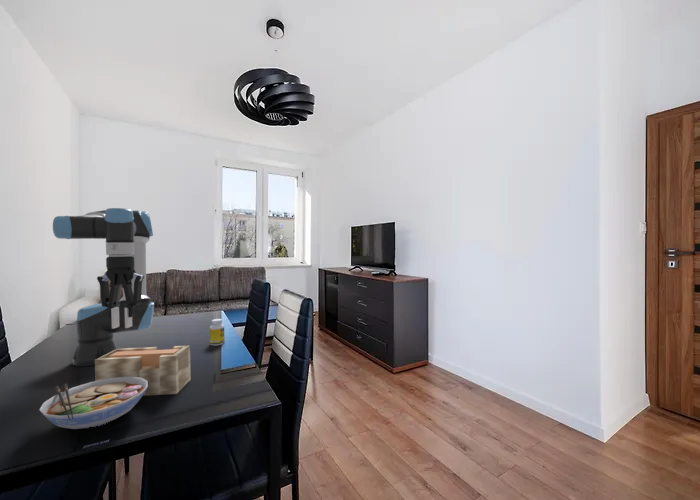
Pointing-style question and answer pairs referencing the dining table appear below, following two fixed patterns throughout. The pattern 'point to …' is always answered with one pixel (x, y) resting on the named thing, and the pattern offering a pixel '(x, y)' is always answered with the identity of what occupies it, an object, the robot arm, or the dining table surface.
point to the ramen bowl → (94, 402)
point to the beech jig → (149, 370)
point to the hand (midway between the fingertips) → (122, 327)
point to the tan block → (146, 355)
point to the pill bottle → (217, 332)
